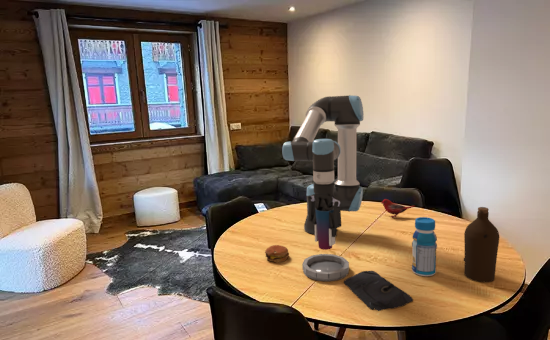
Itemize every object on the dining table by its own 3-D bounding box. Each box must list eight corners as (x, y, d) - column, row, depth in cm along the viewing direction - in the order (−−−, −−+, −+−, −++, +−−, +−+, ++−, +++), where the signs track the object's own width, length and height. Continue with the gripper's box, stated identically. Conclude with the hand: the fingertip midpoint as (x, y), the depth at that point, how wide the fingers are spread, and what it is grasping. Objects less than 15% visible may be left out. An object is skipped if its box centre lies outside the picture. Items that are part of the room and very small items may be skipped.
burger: (286, 252, 162) (285, 242, 161) (291, 261, 153) (290, 250, 152) (263, 255, 160) (262, 244, 159) (267, 264, 151) (266, 253, 150)
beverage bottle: (424, 279, 132) (426, 225, 129) (406, 270, 140) (407, 218, 136) (441, 273, 136) (443, 220, 132) (422, 264, 144) (424, 214, 140)
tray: (294, 272, 143) (293, 264, 142) (321, 257, 154) (321, 250, 154) (330, 286, 131) (330, 278, 130) (357, 269, 142) (357, 261, 142)
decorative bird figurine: (380, 216, 202) (380, 198, 201) (414, 216, 200) (414, 198, 198) (381, 218, 200) (381, 199, 198) (415, 218, 197) (416, 199, 195)
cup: (314, 244, 144) (313, 206, 141) (332, 243, 144) (331, 205, 142) (318, 251, 137) (317, 211, 134) (336, 249, 138) (336, 210, 135)
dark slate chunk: (377, 274, 139) (377, 262, 138) (417, 304, 118) (417, 290, 117) (340, 282, 134) (340, 269, 133) (374, 314, 114) (374, 300, 113)
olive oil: (503, 280, 129) (509, 210, 124) (478, 285, 127) (482, 214, 122) (480, 267, 139) (484, 202, 135) (455, 272, 137) (458, 205, 132)
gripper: (297, 180, 140) (299, 239, 144) (339, 187, 127) (340, 252, 131) (310, 177, 145) (311, 234, 150) (351, 183, 132) (352, 245, 136)
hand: (325, 242), depth 140 cm, fingers closed on cup, 6 cm apart
